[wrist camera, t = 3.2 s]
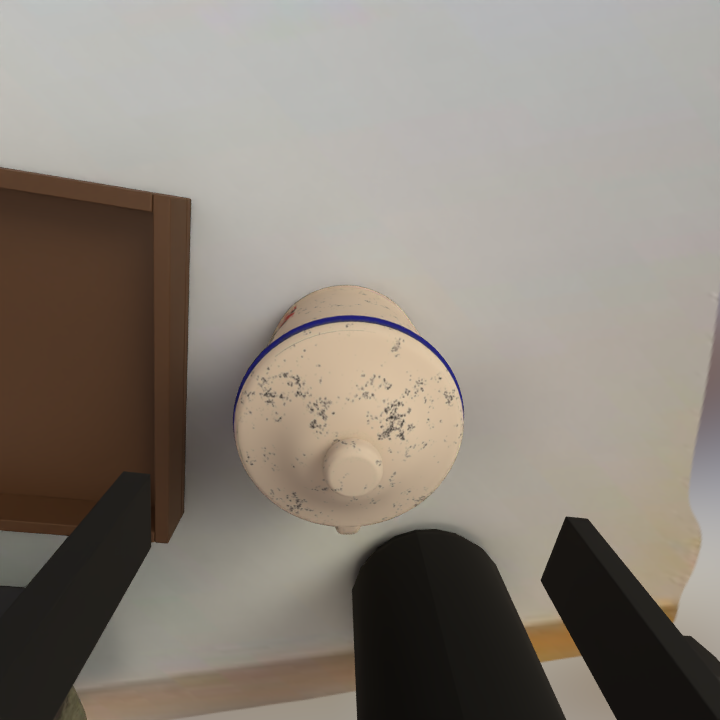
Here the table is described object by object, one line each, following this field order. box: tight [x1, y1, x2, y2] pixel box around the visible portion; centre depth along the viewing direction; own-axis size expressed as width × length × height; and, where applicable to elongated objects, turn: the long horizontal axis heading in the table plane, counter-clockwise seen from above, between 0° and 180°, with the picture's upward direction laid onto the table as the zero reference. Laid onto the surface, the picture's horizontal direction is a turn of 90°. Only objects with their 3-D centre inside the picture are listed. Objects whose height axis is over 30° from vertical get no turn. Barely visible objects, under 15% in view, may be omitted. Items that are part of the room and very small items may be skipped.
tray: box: [0, 167, 191, 543], centre depth 22 cm, size 18×20×3 cm
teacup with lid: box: [233, 285, 464, 534], centre depth 19 cm, size 12×9×12 cm
